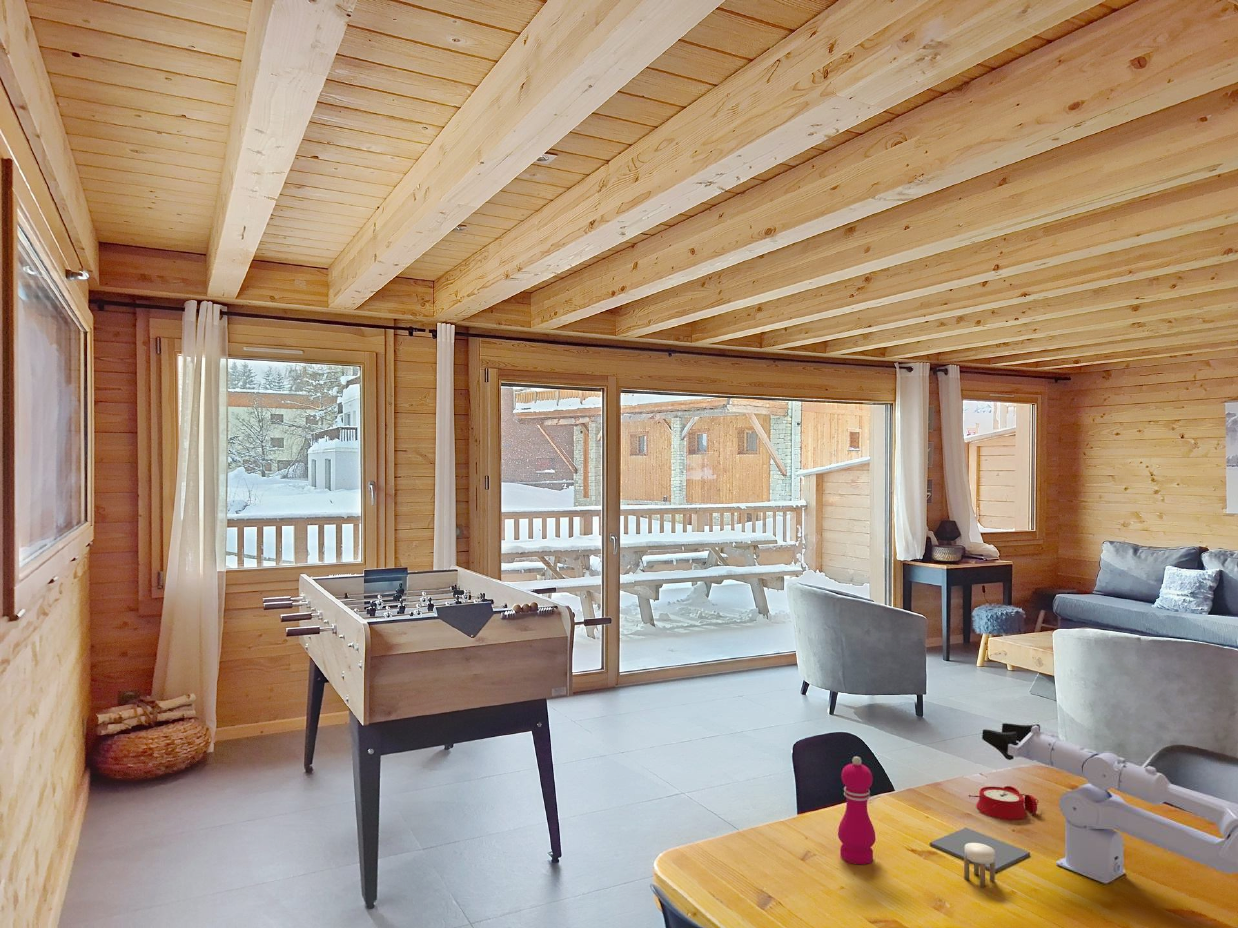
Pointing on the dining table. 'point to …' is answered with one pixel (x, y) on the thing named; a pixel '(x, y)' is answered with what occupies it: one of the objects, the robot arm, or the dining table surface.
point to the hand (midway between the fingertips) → (993, 730)
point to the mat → (959, 839)
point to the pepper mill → (856, 815)
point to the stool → (979, 861)
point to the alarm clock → (1005, 803)
